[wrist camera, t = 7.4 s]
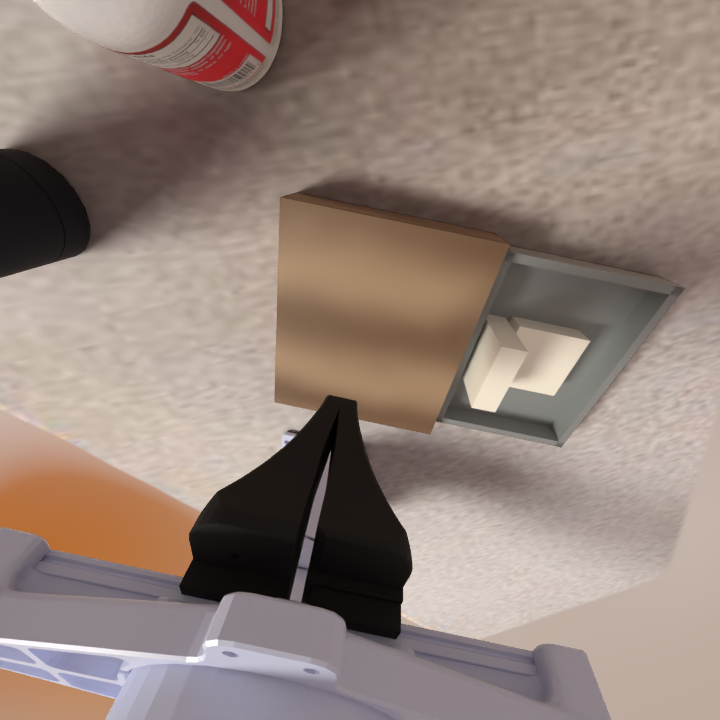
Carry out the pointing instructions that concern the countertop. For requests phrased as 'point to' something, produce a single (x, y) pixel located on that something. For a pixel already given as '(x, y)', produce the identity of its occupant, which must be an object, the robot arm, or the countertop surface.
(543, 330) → the tile
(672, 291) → the tray
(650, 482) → the countertop surface
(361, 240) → the board
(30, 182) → the black water bottle
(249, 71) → the pill bottle
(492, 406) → the tile
